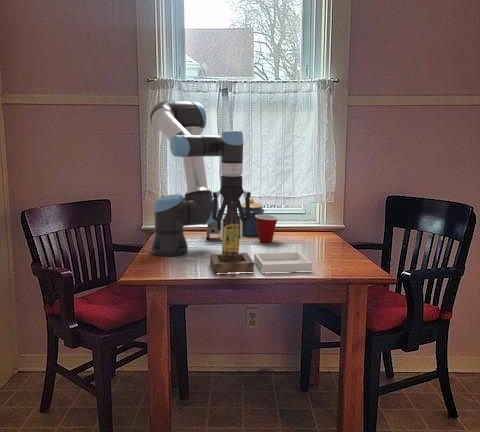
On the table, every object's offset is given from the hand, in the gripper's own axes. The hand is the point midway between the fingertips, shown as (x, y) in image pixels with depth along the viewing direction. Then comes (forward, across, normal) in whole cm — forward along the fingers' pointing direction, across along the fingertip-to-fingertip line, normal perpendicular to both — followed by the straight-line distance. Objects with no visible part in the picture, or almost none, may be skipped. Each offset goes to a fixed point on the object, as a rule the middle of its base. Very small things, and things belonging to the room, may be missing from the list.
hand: (231, 238), depth 165 cm
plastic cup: (+12, +22, +40) cm, 47 cm away
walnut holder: (+11, 0, 0) cm, 11 cm away
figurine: (+12, 0, +48) cm, 50 cm away
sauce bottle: (+6, 0, 0) cm, 6 cm away
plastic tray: (+11, +19, 0) cm, 22 cm away
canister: (+12, +18, +56) cm, 61 cm away
